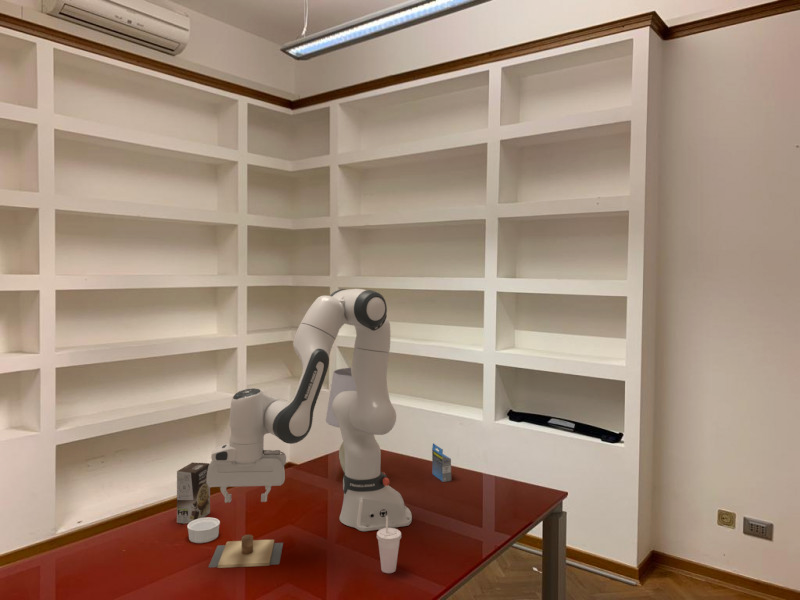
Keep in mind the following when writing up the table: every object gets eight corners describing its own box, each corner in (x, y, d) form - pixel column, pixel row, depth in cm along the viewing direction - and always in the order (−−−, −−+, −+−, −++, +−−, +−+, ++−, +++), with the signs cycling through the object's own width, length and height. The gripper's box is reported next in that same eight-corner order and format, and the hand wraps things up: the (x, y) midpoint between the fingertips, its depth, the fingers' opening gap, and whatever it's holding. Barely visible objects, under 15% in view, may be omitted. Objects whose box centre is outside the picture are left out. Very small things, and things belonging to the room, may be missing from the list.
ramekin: (181, 538, 167) (181, 524, 167) (209, 528, 174) (209, 514, 174) (198, 548, 161) (197, 533, 161) (226, 537, 168) (226, 523, 168)
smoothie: (375, 563, 154) (376, 511, 153) (400, 562, 154) (400, 511, 153) (376, 576, 147) (377, 522, 147) (402, 575, 148) (402, 521, 147)
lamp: (326, 468, 227) (326, 366, 225) (387, 466, 229) (388, 365, 227) (325, 491, 203) (325, 378, 201) (393, 489, 206) (394, 377, 204)
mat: (283, 544, 164) (283, 542, 164) (279, 565, 152) (279, 564, 152) (217, 546, 162) (217, 545, 162) (208, 568, 150) (208, 567, 150)
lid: (274, 542, 164) (274, 525, 164) (269, 565, 151) (269, 547, 151) (227, 544, 163) (226, 527, 163) (217, 567, 150) (217, 549, 150)
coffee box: (195, 525, 176) (195, 472, 175) (176, 523, 177) (175, 471, 176) (211, 513, 185) (210, 462, 184) (192, 511, 186) (192, 461, 185)
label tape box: (451, 481, 214) (452, 448, 214) (441, 482, 213) (442, 449, 212) (440, 473, 223) (441, 441, 222) (431, 474, 221) (431, 442, 220)
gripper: (287, 446, 160) (286, 496, 160) (210, 447, 158) (209, 497, 158) (285, 453, 154) (284, 505, 154) (205, 454, 151) (204, 507, 152)
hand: (246, 501), depth 156 cm, fingers open, 8 cm apart
